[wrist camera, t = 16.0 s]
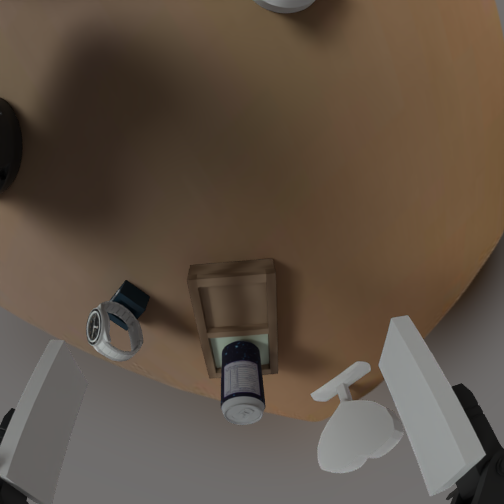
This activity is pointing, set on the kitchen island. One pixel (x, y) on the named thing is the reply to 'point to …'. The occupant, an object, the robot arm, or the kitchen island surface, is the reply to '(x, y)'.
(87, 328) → the watch
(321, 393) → the heart sculpture
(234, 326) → the brown divided tray
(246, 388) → the beverage can
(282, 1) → the wall hook
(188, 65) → the kitchen island surface
